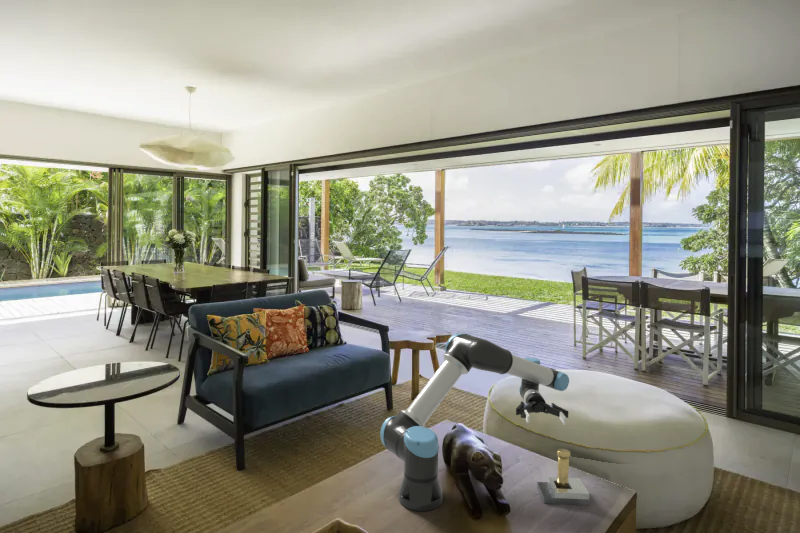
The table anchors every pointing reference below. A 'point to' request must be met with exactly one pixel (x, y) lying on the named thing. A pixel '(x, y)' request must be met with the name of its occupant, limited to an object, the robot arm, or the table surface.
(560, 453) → the brass pin
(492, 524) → the table surface
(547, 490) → the square hole block
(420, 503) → the robot arm
